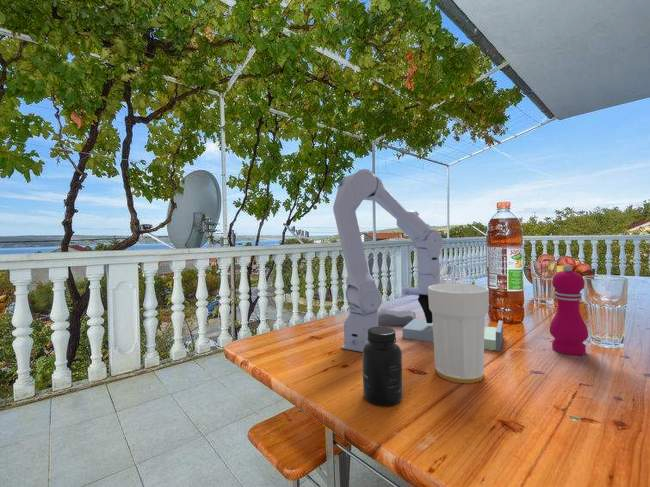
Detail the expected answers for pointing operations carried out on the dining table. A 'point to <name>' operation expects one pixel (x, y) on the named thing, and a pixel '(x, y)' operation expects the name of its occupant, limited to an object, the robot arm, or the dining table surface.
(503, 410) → the dining table surface
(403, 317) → the stone block
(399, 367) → the supplement bottle
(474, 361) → the cup
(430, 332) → the board
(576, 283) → the pepper mill
